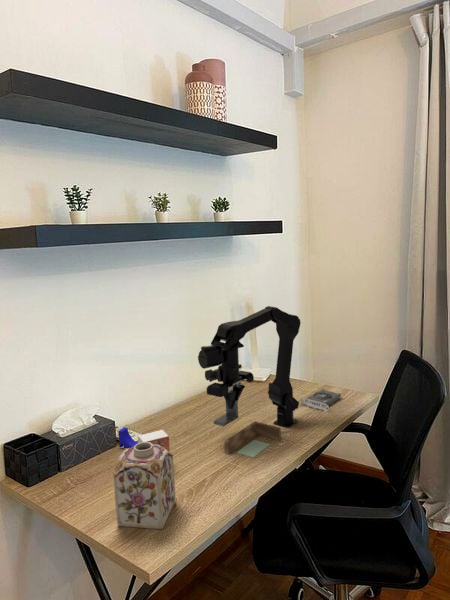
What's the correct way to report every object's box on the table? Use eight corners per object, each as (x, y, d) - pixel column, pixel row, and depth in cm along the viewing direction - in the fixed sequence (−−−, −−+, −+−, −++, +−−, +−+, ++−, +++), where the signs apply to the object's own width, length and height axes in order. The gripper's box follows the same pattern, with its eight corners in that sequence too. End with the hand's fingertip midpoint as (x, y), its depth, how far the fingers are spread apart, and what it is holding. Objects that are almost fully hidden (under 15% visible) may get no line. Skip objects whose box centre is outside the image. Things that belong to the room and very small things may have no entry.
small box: (145, 477, 131) (142, 442, 130) (139, 468, 136) (136, 435, 135) (171, 469, 135) (169, 435, 133) (164, 461, 140) (162, 428, 138)
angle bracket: (228, 415, 153) (227, 397, 152) (238, 417, 150) (237, 400, 149) (213, 423, 146) (212, 405, 146) (223, 426, 144) (222, 408, 143)
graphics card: (327, 405, 172) (299, 398, 180) (327, 415, 172) (299, 407, 180) (348, 393, 184) (321, 386, 192) (347, 402, 185) (321, 395, 193)
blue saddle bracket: (157, 448, 149) (156, 431, 148) (150, 454, 145) (148, 436, 144) (127, 442, 154) (126, 425, 153) (119, 448, 150) (118, 431, 149)
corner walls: (255, 432, 158) (254, 421, 157) (280, 439, 152) (280, 427, 151) (224, 453, 143) (224, 441, 143) (252, 461, 138) (251, 449, 137)
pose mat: (254, 440, 151) (254, 439, 151) (269, 445, 148) (269, 444, 148) (236, 452, 143) (236, 452, 143) (253, 457, 140) (253, 456, 140)
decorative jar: (176, 501, 118) (173, 436, 116) (163, 530, 107) (159, 458, 104) (132, 499, 120) (128, 434, 118) (115, 527, 109) (109, 456, 106)
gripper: (227, 352, 160) (229, 395, 163) (192, 366, 146) (194, 412, 148) (253, 356, 154) (255, 400, 156) (220, 371, 139) (222, 420, 141)
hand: (232, 408), depth 151 cm, fingers closed on angle bracket
